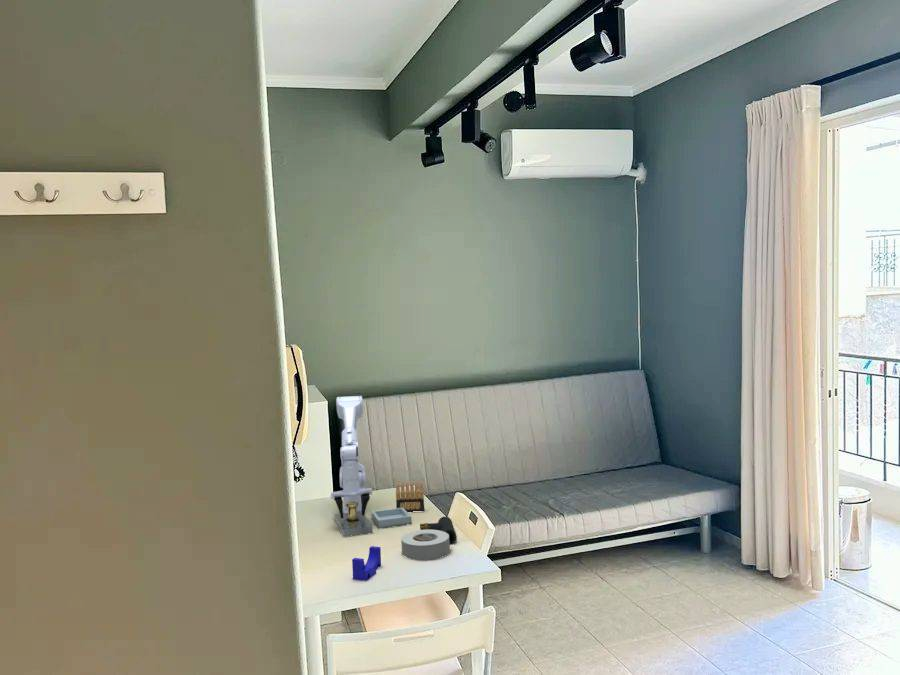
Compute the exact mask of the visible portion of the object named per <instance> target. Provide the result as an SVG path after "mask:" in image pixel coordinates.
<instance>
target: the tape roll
mask: <svg viewBox="0 0 900 675" xmlns="http://www.w3.org/2000/svg"><path fill="white" fill-rule="evenodd" d="M400 540H401V541H400V542H401V554H403V555H404V556H406V557H407V558H406V557H405V558H406V559H409V558H410V560H413V559H414V561H431V560H432V561H433V560H438V559H441V558H440V557H442V556H444V557H446V556H447V554H448V553H450V551H451V548H450V547H451V544H450V542H449V534H448V533H446V532H444V531H440V530H420V529H418V530H414V531H411V532H408V533H406V534H404V535H402V536H401V539H400ZM403 555H402V556H403ZM445 555H446V556H445ZM448 555H449V554H448ZM404 556H403V557H404ZM437 558H438V559H437ZM442 558H443V557H442Z"/></svg>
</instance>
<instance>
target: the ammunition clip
mask: <svg viewBox="0 0 900 675" xmlns="http://www.w3.org/2000/svg"><path fill="white" fill-rule="evenodd" d="M423 486H424V484H423V481H422V480H420V481H419V483H418V481H417V480H415V482H413V480H411V481H410V485H409V482H408V480H406V482H405V484H404V481H403V480H401V483H399V481H398V480H397V481H396V487H395V503H396V506H395V507H396V508H404V509H405V510H406V511H407V512H412V513H414V512H413V511H425V510H426V508H425V500H424V499H425V498H424V497H425V496H424V495H425V494H424V493H425V492H424V487H423Z"/></svg>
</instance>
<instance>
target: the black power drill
mask: <svg viewBox="0 0 900 675" xmlns="http://www.w3.org/2000/svg"><path fill="white" fill-rule="evenodd" d="M419 530H440V531H444V532H446V533H448V534H449V542H450V545H453V544H454V543H456V542H457V533H456V531H455V526H454V524H453V521H452V519H451V518H450V517H448V516H441V517H440V518H439V519H438V521H437V522H434V523H433V522H432V523H430V522H429V523H428V522H424V523H419Z"/></svg>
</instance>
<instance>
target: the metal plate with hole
mask: <svg viewBox="0 0 900 675" xmlns="http://www.w3.org/2000/svg"><path fill="white" fill-rule="evenodd" d="M333 517H334V519H333V520H334V523H335V525H336V526H337V525H338V526H337V527H339V528H338V529H339V531H340V530H341V531H340V533H341V532H342V533H341V534H343V535H342V536H343V537H344V536H349V537H352V536H351V535H357V536H361V535H360V534H364V535H369V534H368V533H372V534H373V533H374V532H373V525H372V524H371V522H370V521H369V519H368V518H367V516H366V514H365V515H364V516H363V515H362V512H361V511H357V521H355V522H349V520H348V512H347V513H344V512H343V518H341V517H340V512H339V513H334V514H333Z"/></svg>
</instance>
